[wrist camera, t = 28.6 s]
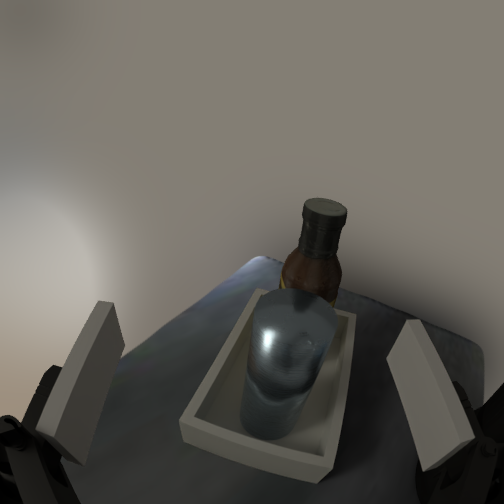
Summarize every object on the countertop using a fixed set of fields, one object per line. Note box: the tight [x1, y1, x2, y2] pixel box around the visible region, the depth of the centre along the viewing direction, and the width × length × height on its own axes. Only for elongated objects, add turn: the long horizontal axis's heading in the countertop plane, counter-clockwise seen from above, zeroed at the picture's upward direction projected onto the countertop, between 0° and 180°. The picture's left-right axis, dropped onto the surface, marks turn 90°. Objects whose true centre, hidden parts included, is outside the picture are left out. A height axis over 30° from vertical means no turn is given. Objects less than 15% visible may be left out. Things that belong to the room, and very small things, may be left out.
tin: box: [240, 288, 338, 440], centre depth 25 cm, size 6×6×15 cm
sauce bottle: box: [279, 198, 347, 308], centre depth 32 cm, size 6×6×20 cm
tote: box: [179, 288, 356, 484], centre depth 32 cm, size 22×14×5 cm, turn 161°
